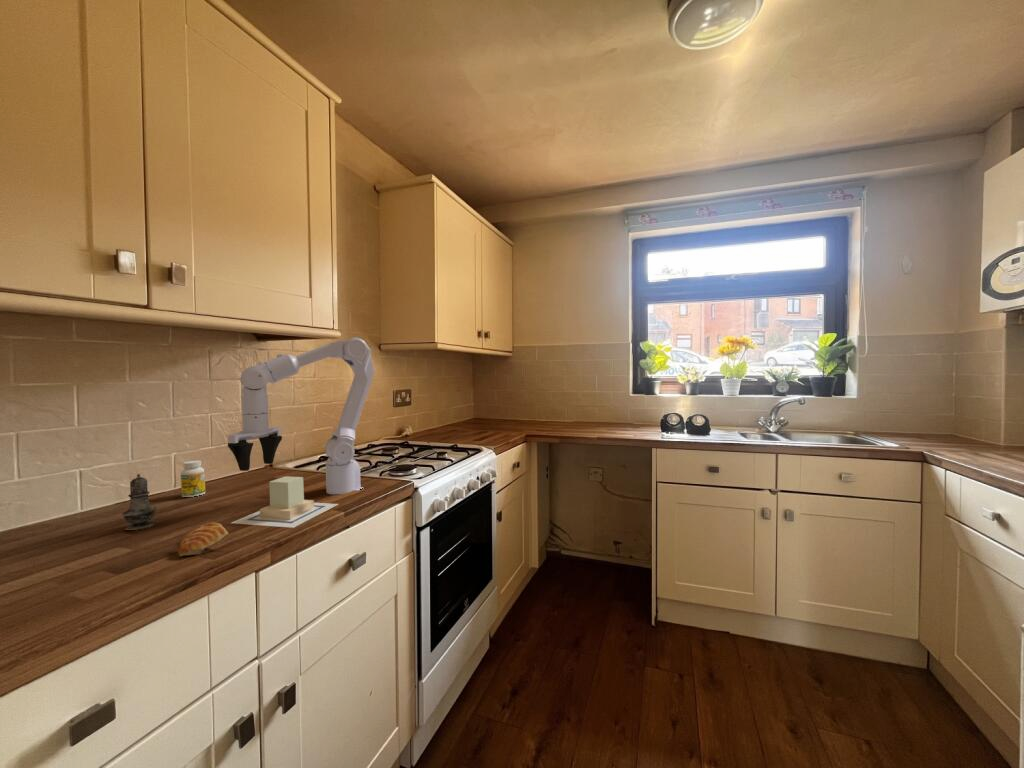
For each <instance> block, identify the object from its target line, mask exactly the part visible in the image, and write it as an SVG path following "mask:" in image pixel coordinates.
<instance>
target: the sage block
mask: <svg viewBox="0 0 1024 768" xmlns="http://www.w3.org/2000/svg"><path fill="white" fill-rule="evenodd" d="M268 485H269V505H270V507H273V508H288V509H289V508H291V507H293V506H296V505H298V504H300V503H302V502H304V500H305V492H304V491H305V490H304V487H305V486H304V477H303V476H285V475H284V476H283V477H279V478H276V479H274V480H271V481H269V484H268Z"/></svg>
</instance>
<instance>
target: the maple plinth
mask: <svg viewBox="0 0 1024 768" xmlns="http://www.w3.org/2000/svg"><path fill="white" fill-rule="evenodd" d="M314 503H315V500H314V499H304V502H302V503H300V504H298V505H296V506H293V507H291V508H289V509H288V508H273V507H270V504H269V505H266V506H264V507H262V508H260V509H259V511H260V518H271V519H285V520H291V519H293V518H295V517H297V516H299V515H301V514H304V513H306V512H308V511H310V510H312V509H314Z"/></svg>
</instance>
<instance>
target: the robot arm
mask: <svg viewBox="0 0 1024 768" xmlns="http://www.w3.org/2000/svg"><path fill="white" fill-rule="evenodd" d="M327 358H332V359H333V358H334V359H339V358H341V359H342V360H343V361H344V362H345V363H346V364H347V365H349V367H350V368H351V371H352V372H353V373H354V376H353V379H352V382H351V384H350V388H349V390H348V391H349V392H348V394H347V397H346V399H345V401H344V402H345V403H344V405H343V408H342V411H341V414H340V416H339V421H338V423H337V426H336V428H335V429H334V430H333V432H332V435H331V437H330V438H329V439H328V440H327V441H326V443H325V445H324V452H325V455H326V456H327V457H328V458H327V460H326V461H325V486H326V487H325V489H326V494H329V495H342V494H343V495H344V494H348V493H350V492H354V491H359V490H360V489H362V488H363V489H364V487H363V486H362V485H361V481H362V480H361V466H360V464H359V462H358V461H357V460H355V459H353V457H354V456H355V442H356V430H357V426H358V424H359V421H360V419H361V415H362V411H363V410H364V407H365V404H366V400H367V397H368V394H369V391H370V388H371V385H372V381H373V379H374V376H375V367H374V363H373V359H372V350H371V348H370V347H369V346H368V344H367V343H366V341H365V340H364V339H362V338H360V337H352V338H349V339H344V340H339V341H333V342H329V343H327V344H323V345H322V346H318V347H316V348H314V349H311V350H309V351H306V352H303V353H300V354H298V355H291V354H288V353H286V354H284V355H283V353H278V354H276V357H275V358H272V359H269V360H266V361H264V362H262V361H258V362H257V365H251V366H249V367H247V368H245V369H244V370H243V371H242V373H241V375H240V377H239V380H240V383H241V384H242V388H241V393H242V395H241V424H242V425H241V427H242V430H241V431H239V432H236V433H232V434H228V435H227V447H228V449H230V450H229V451H231V453H232V455H233V456H234V458H235V461H236V463H237V465H238V469H239V471H240V472H248V471H250V468H251V454H252V449H253V446H254V442H248V441H251V440H255V439H258V440H259V443H260V445H261V446H260V447H261V450H262V458H263V459H262V460H263V464H264V465H265V464H266V465H272V464H273V463H274V459H275V456H276V452H277V449H278V447H279V445H280V443H281V441H282V440H283V435H281V430H282V427H281V426H280V427H279V426H273V427H272V426H271V427H270V423H269V420H270V418H269V396H268V393H267V385H268V383H271V384H274V383H277V382H279V381H283V380H284V379H288V378H290V377H292V376H295V375H297V374H298V373H299V370H300V369H301V368H302V367H304V366H307V365H310V364H313V363H315V362H318V361H321V360H324V359H327ZM363 489H362V490H363ZM360 491H361V490H360Z"/></svg>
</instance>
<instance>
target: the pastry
mask: <svg viewBox="0 0 1024 768" xmlns="http://www.w3.org/2000/svg"><path fill="white" fill-rule="evenodd" d="M227 535H229V532H228V531H227V529H226V528H225V527H224V526H223V525H222V524H221V523H219V522H207V523H206V524H202V525H199V527H198V528H196V529H194V530H192V531H189V532H188V533H187V534H185V537H183V538H182V541H180V542H179V545H178V546H179V547H178V549H177V552H178V555H179V557H183V556H192V555H193V556H194V555H201V554H203V553H206V552H207V551H209V550H212V548H208V547H210V546H212V545H213V544H216V543H217V542H219V541H221V540H222V539H223V538H224V537H226V536H227Z"/></svg>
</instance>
